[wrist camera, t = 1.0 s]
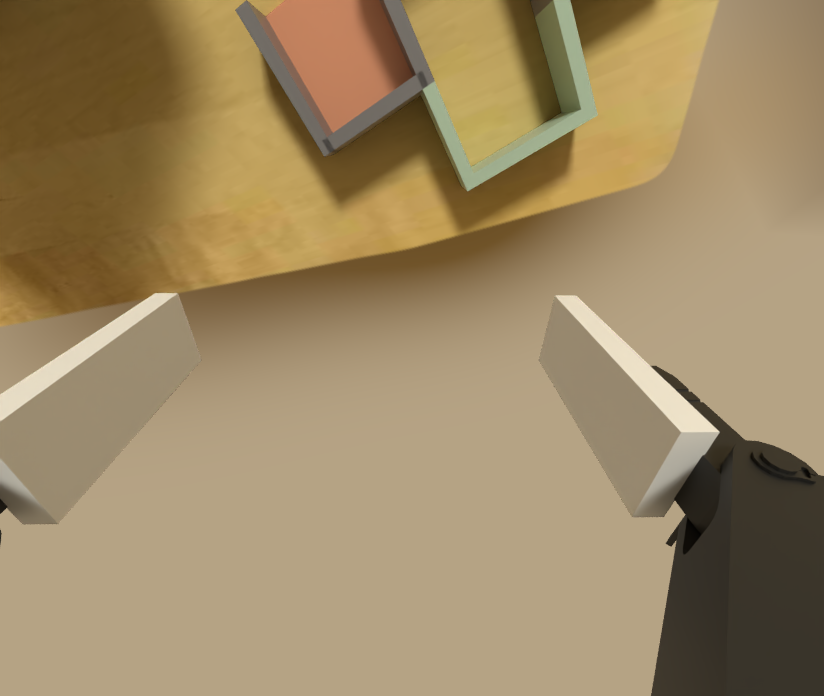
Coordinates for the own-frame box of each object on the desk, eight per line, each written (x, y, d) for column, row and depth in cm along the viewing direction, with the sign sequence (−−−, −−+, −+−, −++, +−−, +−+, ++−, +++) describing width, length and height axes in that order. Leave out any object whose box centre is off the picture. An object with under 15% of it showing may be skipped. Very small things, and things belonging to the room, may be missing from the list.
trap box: (257, 26, 27) (235, 9, 24) (644, -302, 20) (692, -392, 17) (380, 233, 35) (377, 244, 32) (686, 52, 28) (724, 40, 25)
